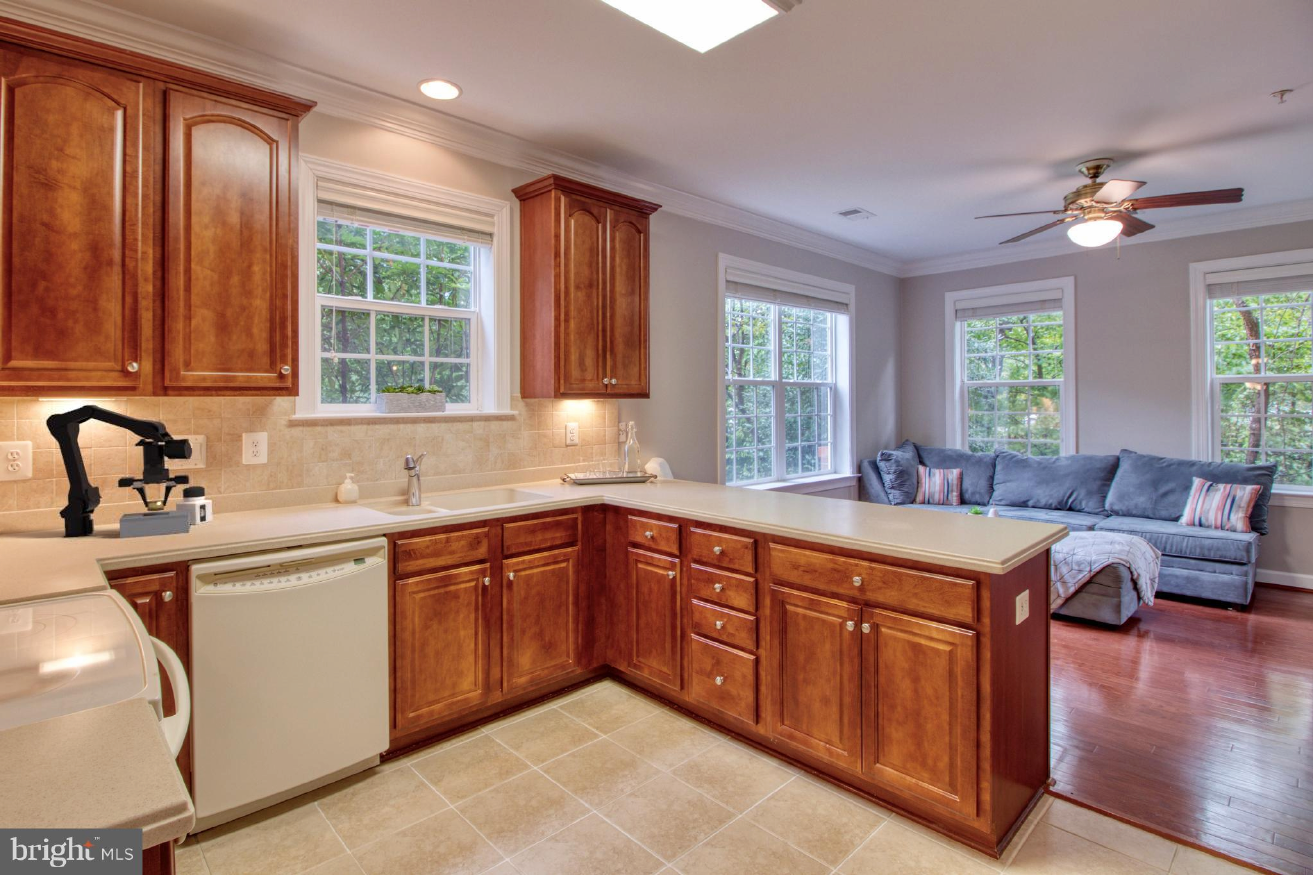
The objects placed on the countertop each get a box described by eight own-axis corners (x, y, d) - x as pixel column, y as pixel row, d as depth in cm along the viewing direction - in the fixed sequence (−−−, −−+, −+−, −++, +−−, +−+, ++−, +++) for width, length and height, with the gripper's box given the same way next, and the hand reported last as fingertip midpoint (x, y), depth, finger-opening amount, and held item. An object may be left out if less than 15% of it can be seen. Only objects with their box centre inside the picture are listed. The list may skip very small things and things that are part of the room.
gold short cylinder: (146, 511, 224) (146, 502, 224) (148, 509, 228) (147, 500, 228) (163, 510, 227) (163, 501, 227) (164, 508, 231) (164, 499, 230)
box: (120, 538, 218) (119, 519, 218) (124, 531, 228) (124, 513, 228) (188, 532, 228) (188, 514, 227) (190, 526, 238) (189, 509, 237)
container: (212, 521, 248) (211, 485, 248) (196, 525, 241) (195, 488, 240) (193, 520, 249) (191, 485, 249) (176, 524, 242) (174, 487, 241)
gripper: (114, 463, 215) (116, 512, 216) (187, 460, 225) (188, 507, 226) (119, 460, 224) (121, 507, 225) (188, 457, 234) (190, 503, 235)
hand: (155, 506), depth 227 cm, fingers closed on gold short cylinder, 4 cm apart
